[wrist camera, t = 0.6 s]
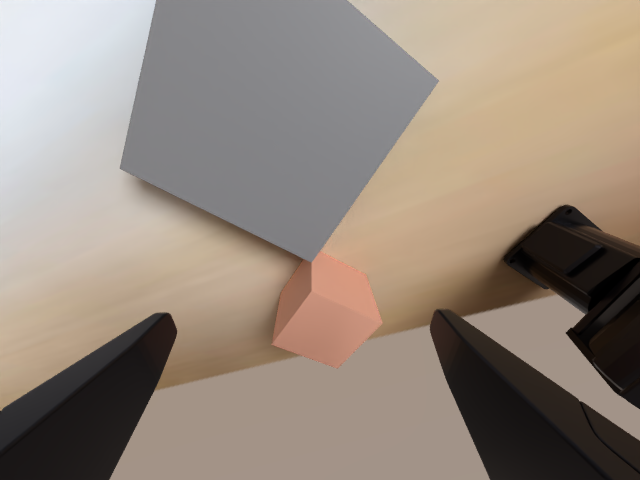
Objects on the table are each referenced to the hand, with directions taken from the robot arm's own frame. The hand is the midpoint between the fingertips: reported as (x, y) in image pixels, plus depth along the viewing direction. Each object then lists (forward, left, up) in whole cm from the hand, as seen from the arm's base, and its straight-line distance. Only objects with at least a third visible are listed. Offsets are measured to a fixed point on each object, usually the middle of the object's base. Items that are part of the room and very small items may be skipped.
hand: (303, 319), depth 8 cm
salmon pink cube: (-5, +6, -12) cm, 15 cm away
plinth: (+5, -4, -12) cm, 14 cm away
